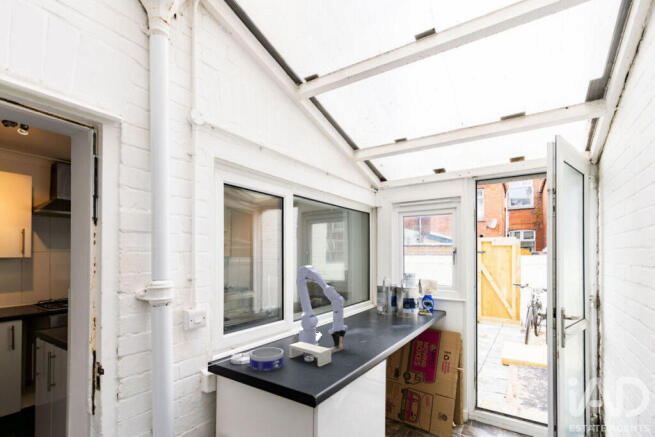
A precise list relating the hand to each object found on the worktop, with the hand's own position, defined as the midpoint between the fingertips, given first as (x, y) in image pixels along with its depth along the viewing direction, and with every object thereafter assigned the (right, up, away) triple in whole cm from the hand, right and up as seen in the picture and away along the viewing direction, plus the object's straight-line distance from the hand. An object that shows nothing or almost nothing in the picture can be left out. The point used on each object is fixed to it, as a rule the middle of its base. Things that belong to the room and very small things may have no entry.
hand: (338, 345), depth 173 cm
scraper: (-6, -1, -7) cm, 9 cm away
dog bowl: (-34, 0, -25) cm, 42 cm away
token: (-15, 0, -18) cm, 23 cm away
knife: (-13, -6, +28) cm, 31 cm away
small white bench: (-14, 0, -18) cm, 23 cm away
